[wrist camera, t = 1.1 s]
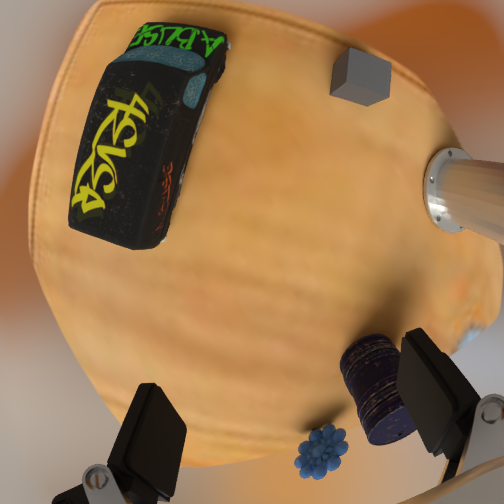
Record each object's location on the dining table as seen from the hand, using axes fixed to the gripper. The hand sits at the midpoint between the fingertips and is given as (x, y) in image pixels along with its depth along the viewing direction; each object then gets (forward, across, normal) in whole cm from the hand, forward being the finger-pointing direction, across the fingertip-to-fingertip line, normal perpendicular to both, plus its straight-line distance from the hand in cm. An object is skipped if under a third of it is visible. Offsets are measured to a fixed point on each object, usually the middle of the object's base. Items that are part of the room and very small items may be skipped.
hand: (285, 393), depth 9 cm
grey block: (+25, -15, -16) cm, 33 cm away
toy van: (+25, +9, -15) cm, 30 cm away
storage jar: (+25, -12, +24) cm, 37 cm away
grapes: (+25, -2, +43) cm, 50 cm away
